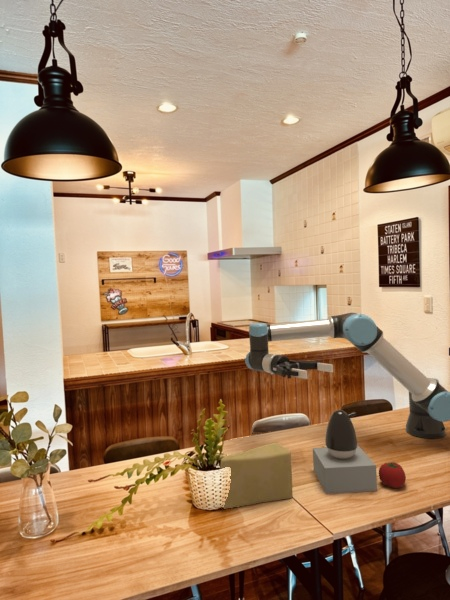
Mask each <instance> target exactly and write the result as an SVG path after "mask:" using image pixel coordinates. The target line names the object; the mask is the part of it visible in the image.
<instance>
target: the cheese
mask: <svg viewBox="0 0 450 600" xmlns="http://www.w3.org/2000/svg"><path fill="white" fill-rule="evenodd" d="M219 466H220V468H225V467H230V468H231V476H230V479H231V483H230V490H229V493H228V497H227V499H226V501H225V505H224V507H223V508H224V509H226V508H231V509H234V508H233V507H237V508H239V507H238V506H242V507H245V506H244V505H247V506H250V505H249V504H252V505H257V504H261V503H262V502H263V503H268V502H275V501H280V500H286V499H292V498H293V474H292V473H293V472H292V470H293V469H292V467H293V466H292V454H291V451H290V450H289V449H287V447H284V446H283V445H282V444H280V443H278V442H272V443H268V444H265V445H262V446H261V445H260V446H258V447H254V448H252V449H251V448H250V449H249V450H244V451H242V452H238V453H234V454H231V455H226V456H224V457H222V458H221V459H220V465H219ZM256 503H257V504H256ZM226 510H227V509H226Z"/></svg>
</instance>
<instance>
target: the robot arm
mask: <svg viewBox="0 0 450 600" xmlns="http://www.w3.org/2000/svg"><path fill="white" fill-rule="evenodd" d="M248 335H249V336H248V337H249V348H250V349H249V352H248V353H247V354H246V356H245V359H244V362H245V365H246V367H247V368H248V369H250V370H253V371H256V372H262V373H269V374H270V376H272V375H276V376H281V377H283V378H286V377H287V379H292V378H297V379H303V380H308V370H317V371H321V372H326V373H334V364H330V363H323V362H322V361H321V360H320V359H318V360H317V361H316V360H315V361H313V360H298V359H297V360H290V359H289V358H288V357H287V356H286V355H280V354H274V353H269V342H277V341H289V340H290V341H291V340H302V339H303V340H305V339H314V338H324V337H325V338H326V337H330V338H331V339H345V340H347V341H349V342H350V343H351V344H352V345H353V346H354V347H355V348H356V349H357V350H358V351H359V352H360V353H367V354H368V355H369V356H370V357H371V358H372V359H374V361H376V362H377V363H378V364H379V365H380V366H381V367H383V368H384V369H385V370H386V371H387V372H388V373H389V374H390V375H391V376H392V377H393V378H394V379H396V380H397V382H399V384H401V385H402V386H403V387H404V388H405V389H406V390H407V391H408V402H409V403H408V404H409V406H408V407H409V414H408V417H407V420H406V423H405V432H406V433H407V434H409V435H411V436H413V437H418V438H421V439H440V438H443V437H446V435H447V434H446V433H447V431H446V426H445V424H444V422H445V423H446V422H450V391H448V390H447V389H446V388H445V387H444V386H443V385H442V384H441V383H440V382H439V379H438V378H431V377H427V376H426V375H425V374H424V373H423V372H421V371H420V369H419V368H417V367H416V366H415V365H414V364H413V363H412V362H410V360H408V358H407V357H405V355H403V354H402V353H401V352H400V351H399V350H397V348H395V346H394V345H392V344H391V343H390V342H389V341H388V340H387V339H385V338H384V332H383V330H381V328H379V327H378V326H377V324H376V322H375V320H374V319H372V317H369V316H368V315H366V314H362V313H358V312H357V313H356V312H348V313H347V312H346V313H344V314H336V315H330V316H329V317H328V318H325V319H324V318H322V319H314V320H313V319H312V320H302V321H292V322H289V321H288V322H279V323H273V324H272V323H270V324H267V323H264V322H256V323H255V322H254V323H250V324H249V325H248Z"/></svg>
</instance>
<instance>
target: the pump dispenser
mask: <svg viewBox="0 0 450 600" xmlns="http://www.w3.org/2000/svg"><path fill="white" fill-rule="evenodd" d="M354 416H357V412H356V411H353V412H350V413H347V412H346V411H344V410H342V409H337V410H334V412H332V414H331V415H330V418H329V419H328V423H327V426H326V431H325V438H324V439H325V441H324V442H325V447H327V449H328V451H329V453H330V454H331V455H332V456H334V457H336V458H338V459H348V458H350V457H352V456H353V455H354V454H355V452H356V448H357V446H359V445H358V439H357V433H356V429H355V427H354V425H353V422H352V419H351V418H353V417H354Z"/></svg>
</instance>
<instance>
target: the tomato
mask: <svg viewBox="0 0 450 600" xmlns="http://www.w3.org/2000/svg"><path fill="white" fill-rule="evenodd" d="M378 478H379V480H380V482H381V483H382V484H383V485H384V486H386V487H390V488H392V489H400V488H402V487H403V486H404V485H405V483H406V478H407V477H406V473H405V471H404V468H403V467H402V466H401V465H400V464H399V463H397V462H395V461H391V462H385V463H383V464H381V465H380V466H379V468H378Z"/></svg>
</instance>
